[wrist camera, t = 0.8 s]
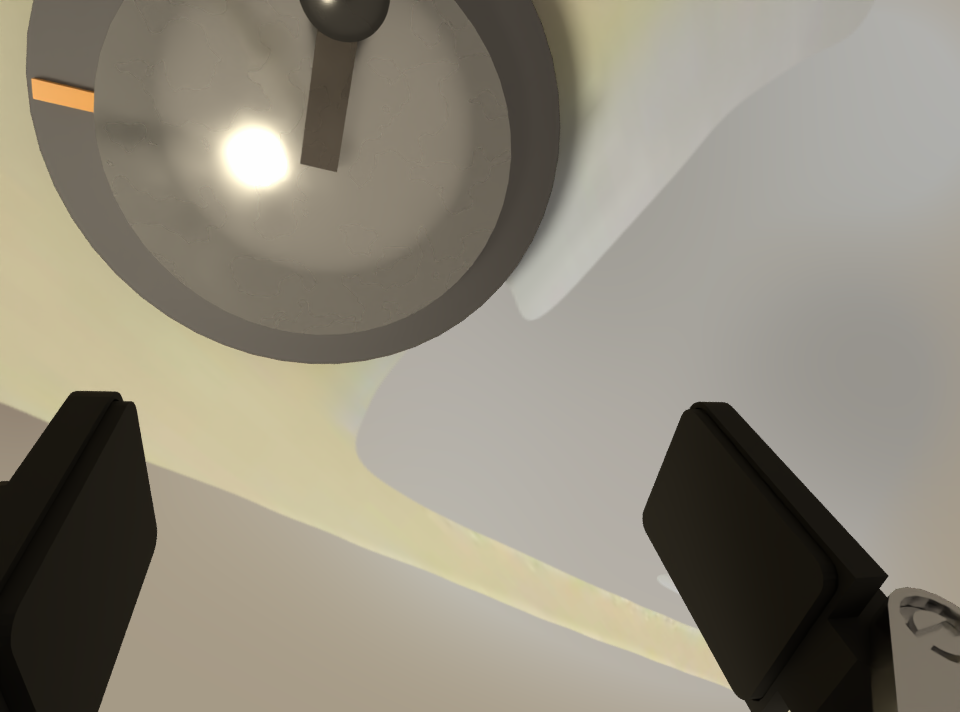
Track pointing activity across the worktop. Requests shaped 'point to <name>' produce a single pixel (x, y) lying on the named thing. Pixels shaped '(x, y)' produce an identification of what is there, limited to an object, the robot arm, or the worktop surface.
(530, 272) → the worktop surface
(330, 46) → the dial
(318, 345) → the dial base
